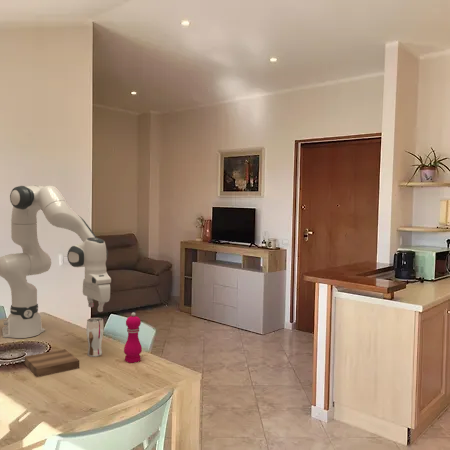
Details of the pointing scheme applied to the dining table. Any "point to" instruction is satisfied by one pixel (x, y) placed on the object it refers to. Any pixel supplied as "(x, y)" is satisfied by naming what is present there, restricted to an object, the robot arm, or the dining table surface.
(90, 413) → the dining table surface
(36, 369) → the walnut base
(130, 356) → the pepper mill
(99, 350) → the beer glass
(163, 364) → the dining table surface
